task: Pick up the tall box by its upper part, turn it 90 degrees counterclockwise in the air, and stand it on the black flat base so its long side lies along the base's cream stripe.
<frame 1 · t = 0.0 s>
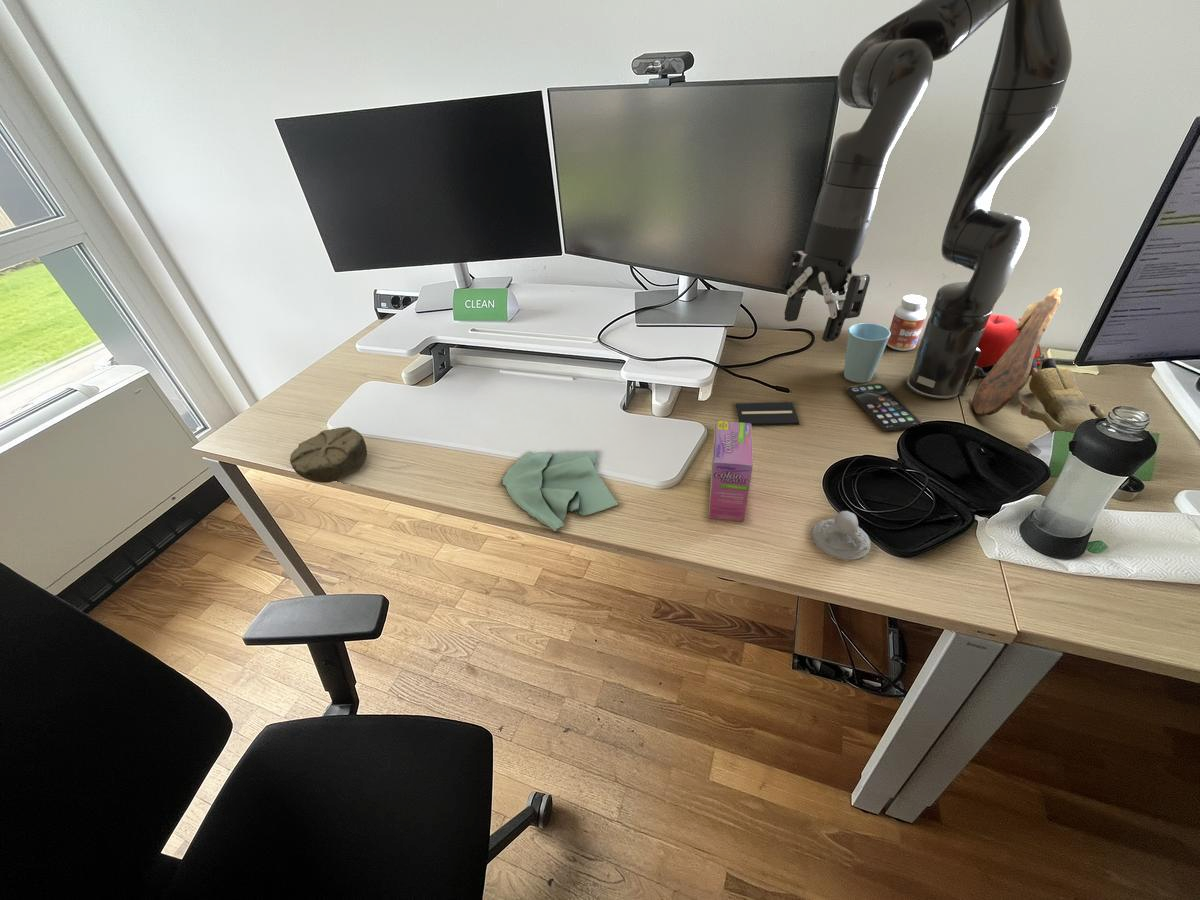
hand: (808, 330, 83), 22 cm above the table, tool pointing down, fingers open, 8 cm apart
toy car: (1040, 339, 106), point 6 cm above the table, touching apple, paddle
cloth: (559, 489, 92), on the table
figurine: (1036, 370, 99), point 5 cm above the table, touching paddle
box: (727, 498, 87), on the table
smartphone: (881, 408, 102), on the table
apple: (977, 363, 112), on the table, touching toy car
paddle: (980, 412, 96), point 1 cm above the table, touching figurine, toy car
pill bottle: (900, 345, 120), on the table
cup: (857, 377, 112), on the table
stone: (318, 443, 96), point 7 cm above the table
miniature: (840, 540, 78), on the table
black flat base: (766, 414, 104), on the table
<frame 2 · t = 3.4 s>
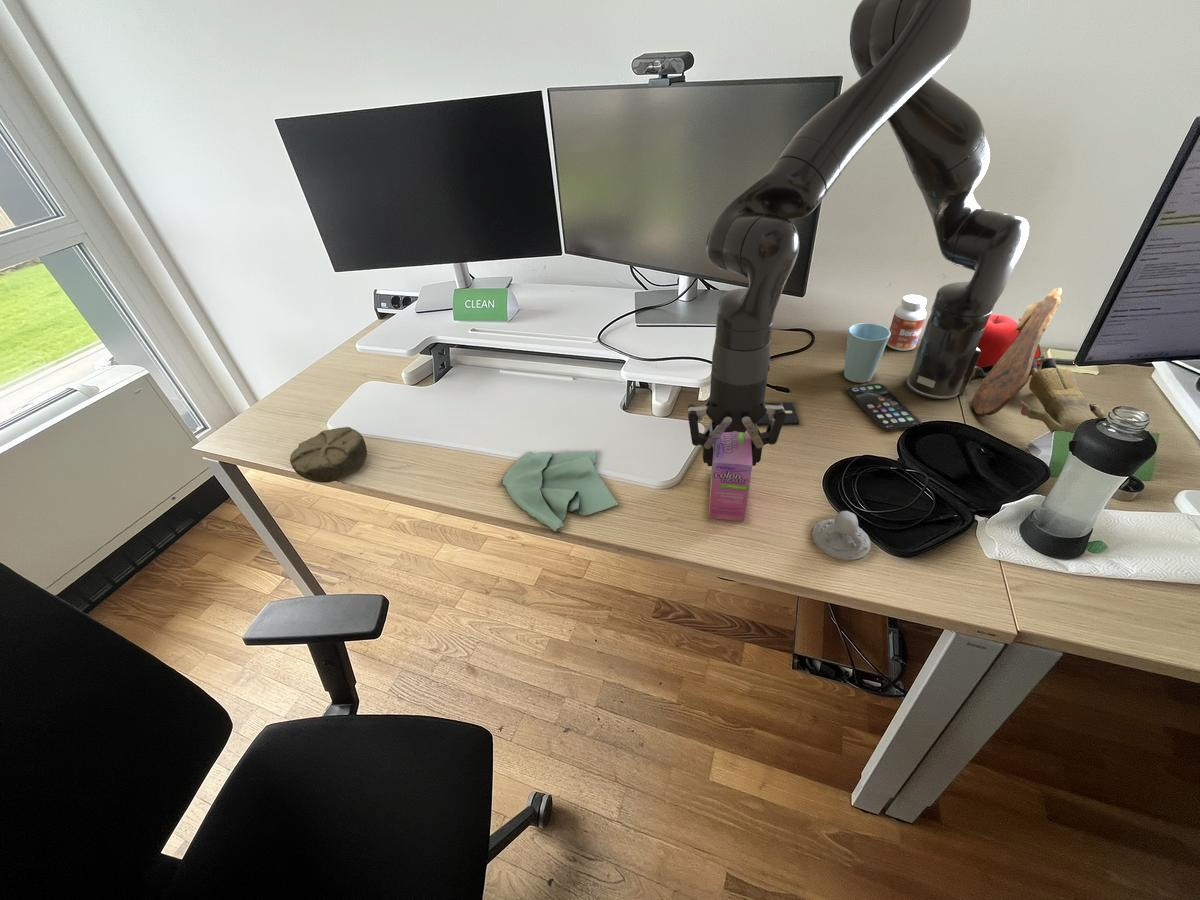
hand: (730, 462, 82), 8 cm above the table, tool pointing down, fingers closed on box, 6 cm apart
box: (727, 498, 87), on the table, touching gripper
everything else where it was.
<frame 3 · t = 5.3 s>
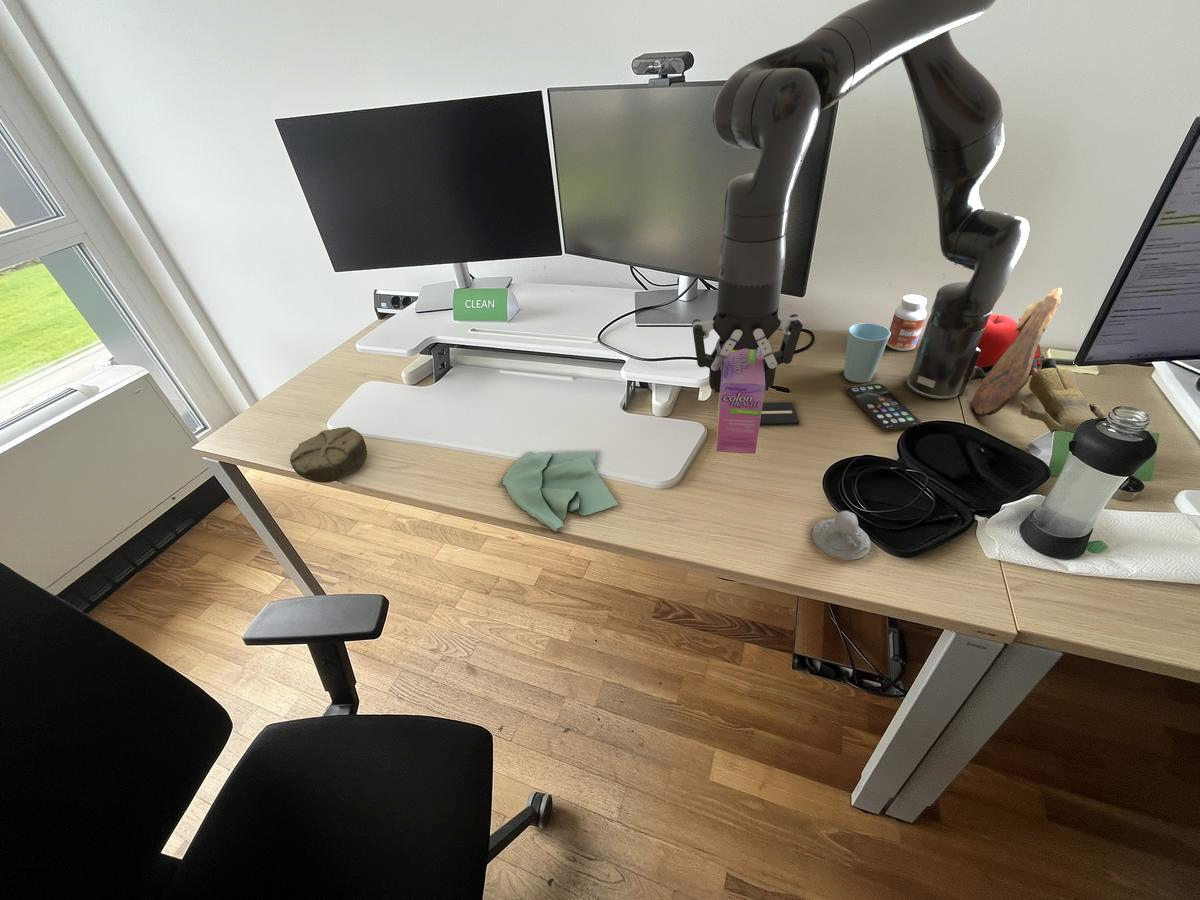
hand: (740, 388, 74), 21 cm above the table, tool pointing down, fingers closed on box, 6 cm apart
box: (736, 432, 79), point 13 cm above the table, touching gripper
everything else where it was.
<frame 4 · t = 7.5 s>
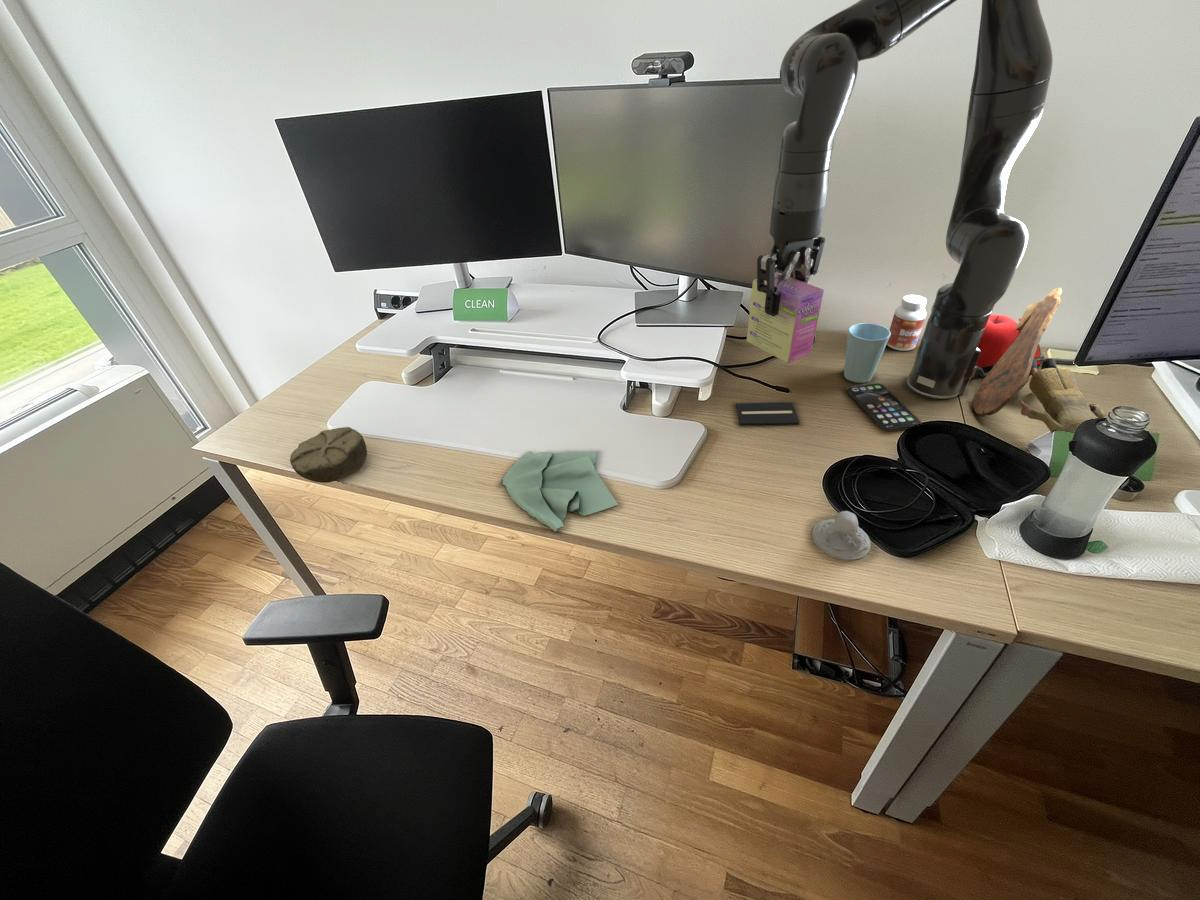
hand: (783, 307, 89), 22 cm above the table, tool pointing down, fingers closed on box, 6 cm apart
box: (778, 349, 94), point 15 cm above the table, touching gripper
everything else where it was.
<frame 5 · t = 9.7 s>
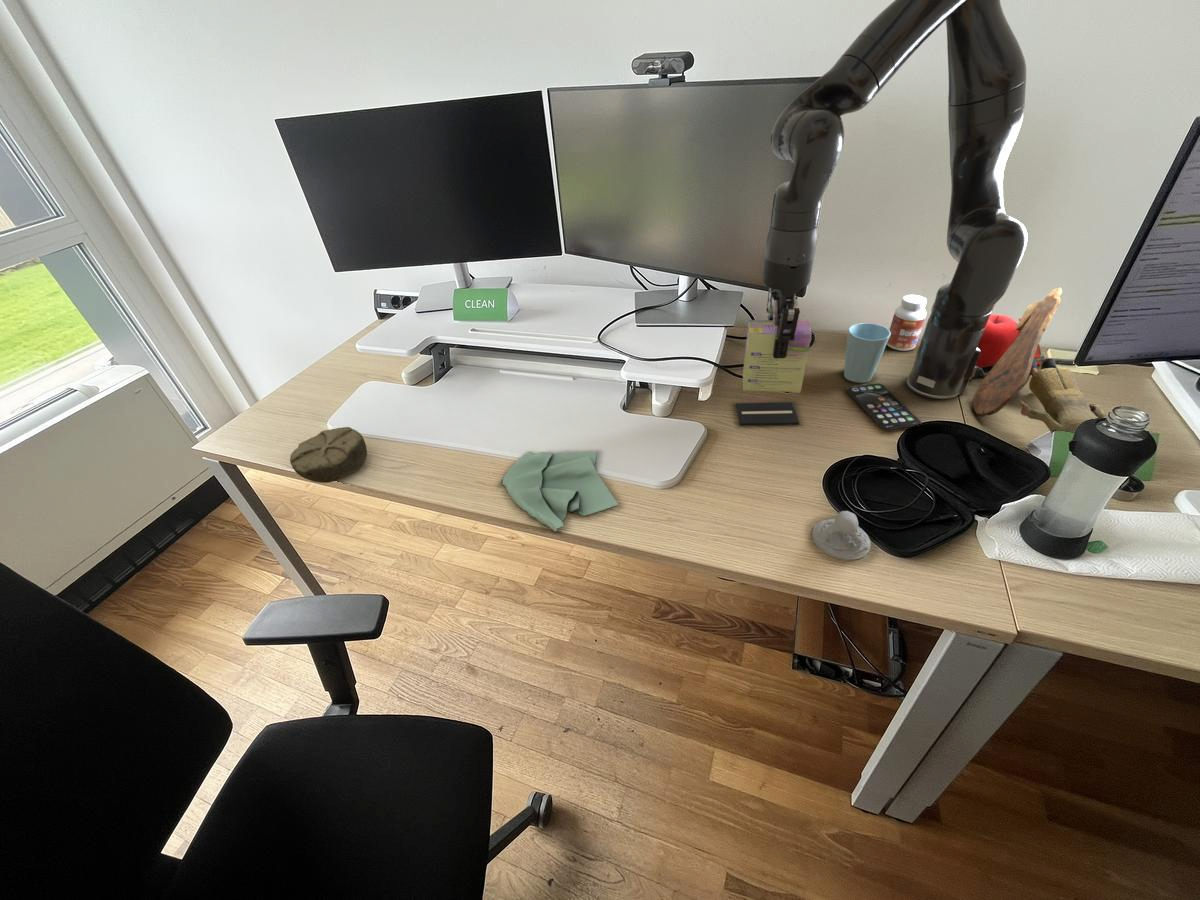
hand: (776, 348, 95), 15 cm above the table, tool pointing down, fingers closed on box, 6 cm apart
box: (770, 385, 100), point 7 cm above the table, touching gripper
everything else where it was.
when the fingers open (8 cm above the table, at t = 11.7 s): box stays where it is, resting on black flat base.
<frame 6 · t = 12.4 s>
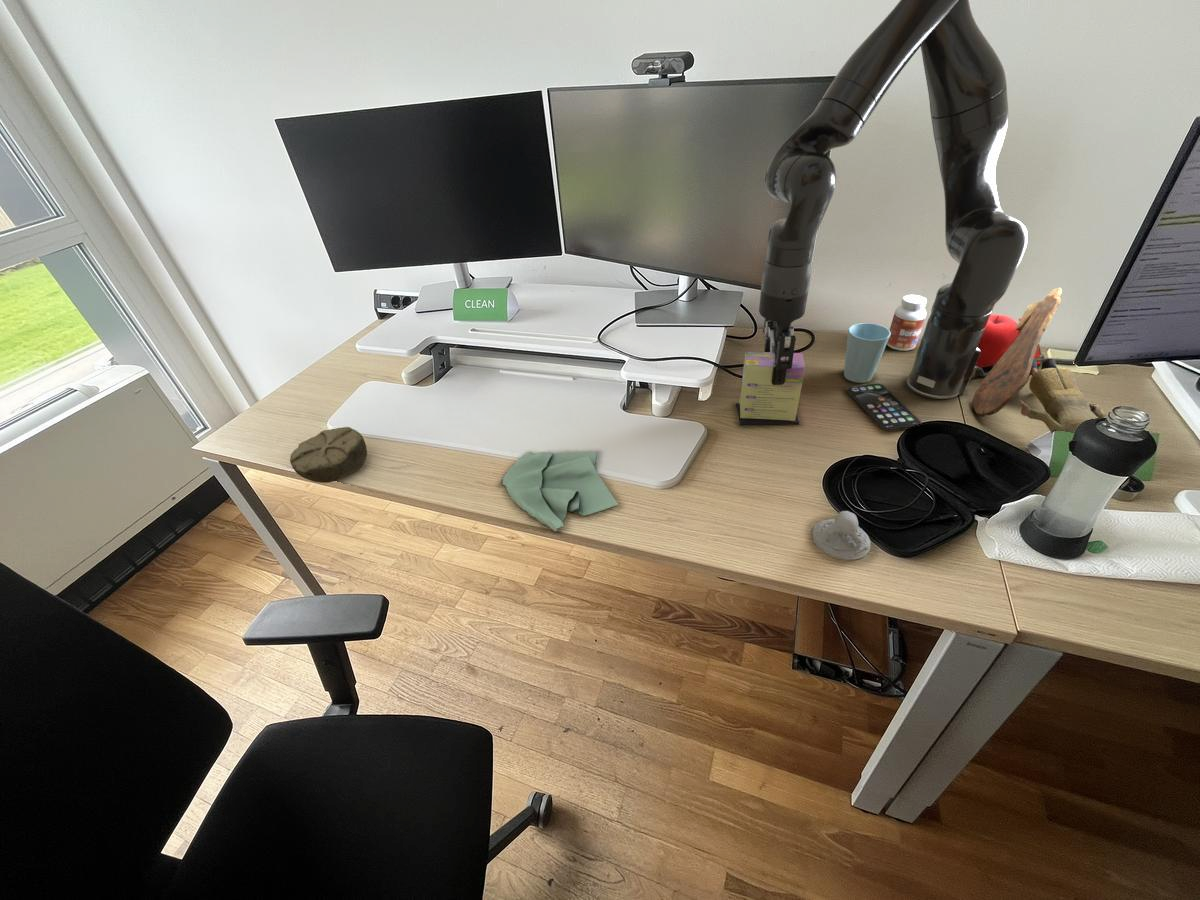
hand: (773, 371, 97), 10 cm above the table, tool pointing down, fingers open, 8 cm apart
box: (766, 412, 103), resting on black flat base
everything else where it was.
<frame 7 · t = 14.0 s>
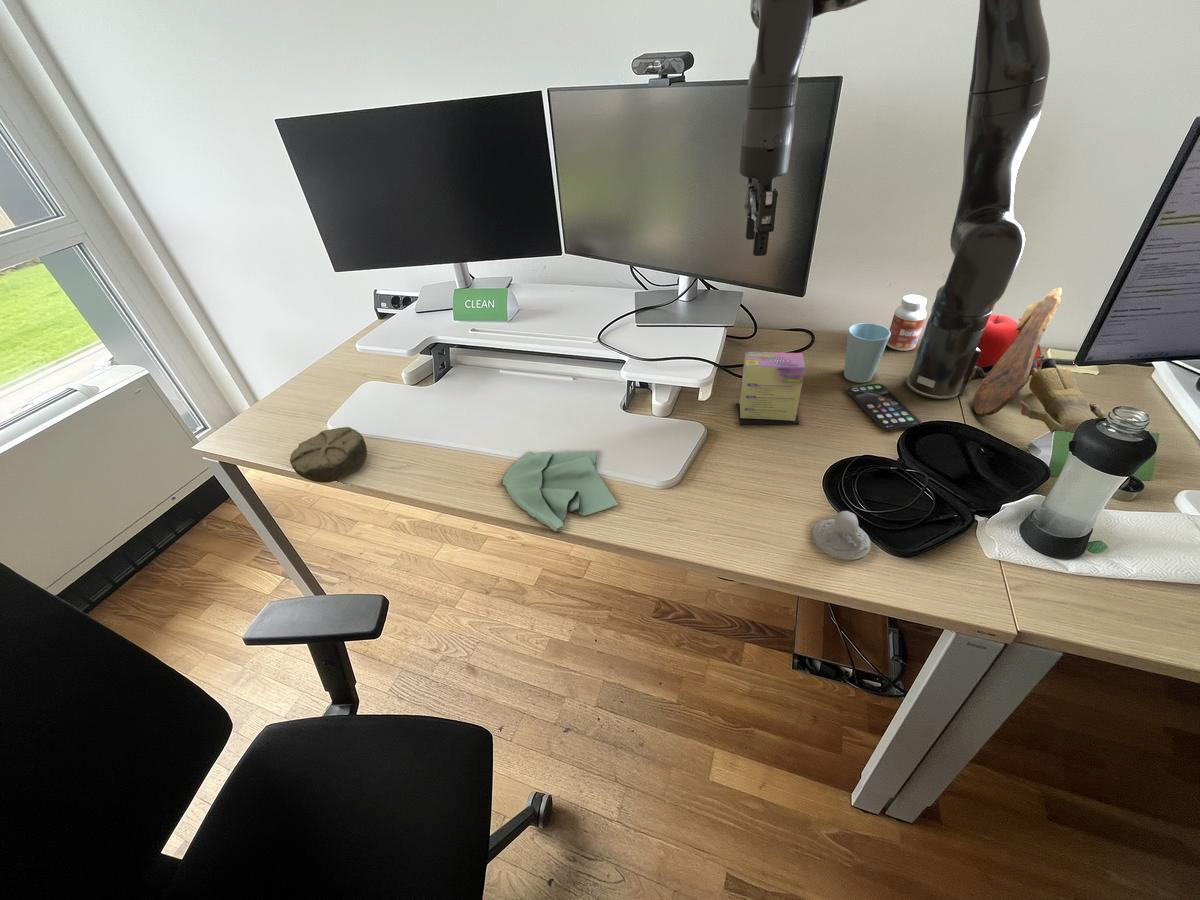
hand: (755, 246, 92), 30 cm above the table, tool pointing down, fingers open, 8 cm apart
nothing on the table moved.
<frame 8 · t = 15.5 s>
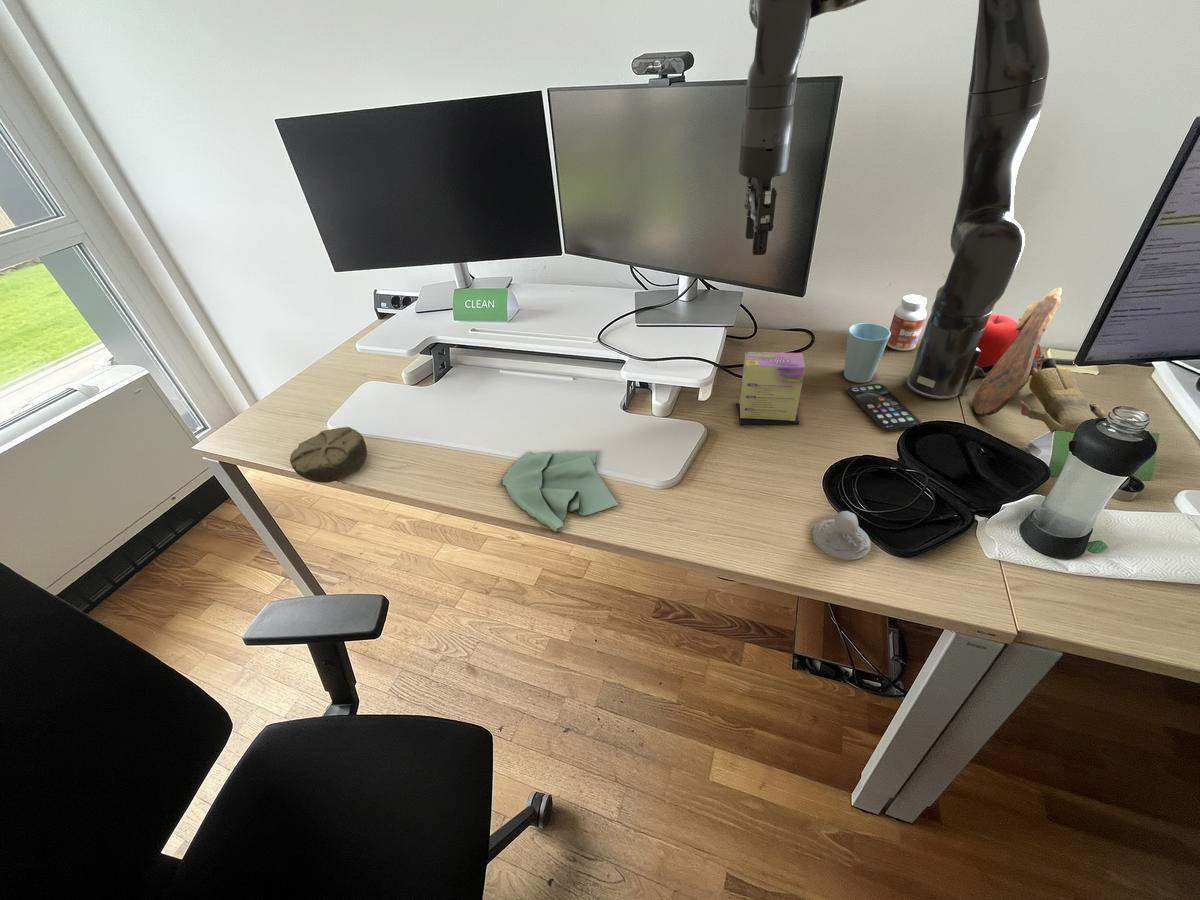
hand: (755, 246, 92), 30 cm above the table, tool pointing down, fingers open, 8 cm apart
nothing on the table moved.
at the end: box 0.1 cm off-centre on the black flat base, point 0.4 cm above the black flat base's base; box tilted 0°; the gripper is holding nothing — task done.
